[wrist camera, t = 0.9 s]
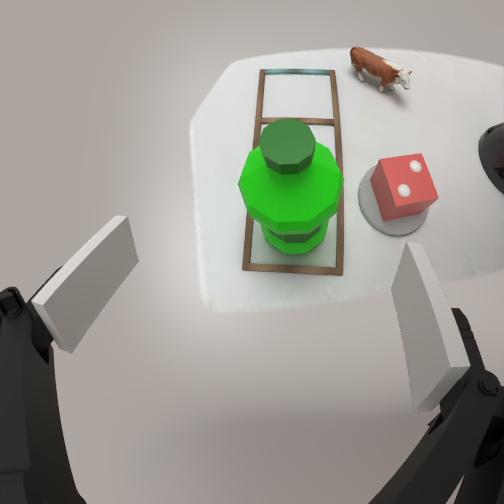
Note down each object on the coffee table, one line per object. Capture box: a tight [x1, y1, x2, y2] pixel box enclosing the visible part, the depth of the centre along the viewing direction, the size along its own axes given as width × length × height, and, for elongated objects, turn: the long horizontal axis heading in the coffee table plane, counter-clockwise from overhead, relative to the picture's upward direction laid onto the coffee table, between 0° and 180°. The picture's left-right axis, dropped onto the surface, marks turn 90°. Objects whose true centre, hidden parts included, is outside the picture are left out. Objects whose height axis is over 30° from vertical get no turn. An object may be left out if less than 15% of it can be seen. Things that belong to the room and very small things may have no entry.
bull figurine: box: [350, 47, 412, 93], centre depth 44 cm, size 4×13×8 cm, turn 45°
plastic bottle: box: [238, 119, 344, 254], centre depth 33 cm, size 10×10×25 cm
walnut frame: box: [242, 69, 344, 275], centre depth 47 cm, size 15×40×1 cm, turn 175°
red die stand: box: [358, 154, 438, 236], centre depth 39 cm, size 12×12×9 cm
